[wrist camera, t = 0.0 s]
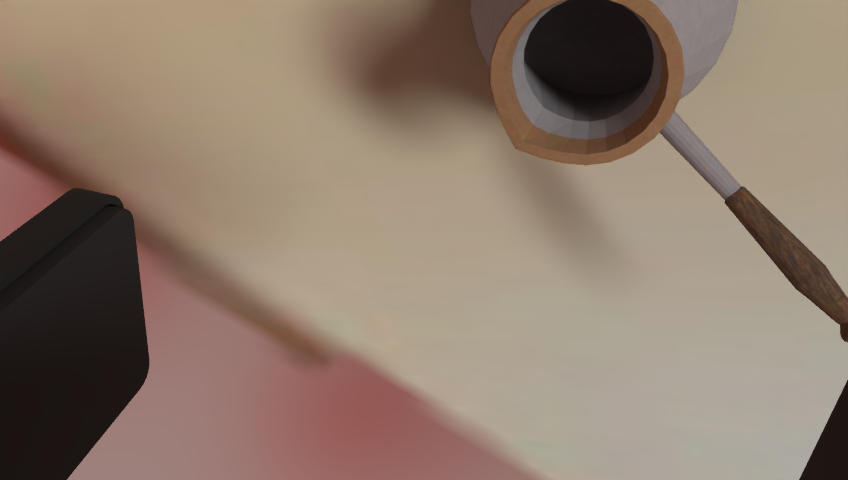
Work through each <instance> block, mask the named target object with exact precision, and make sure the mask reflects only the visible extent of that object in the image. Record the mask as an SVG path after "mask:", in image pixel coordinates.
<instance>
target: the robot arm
mask: <svg viewBox="0 0 848 480" xmlns="http://www.w3.org/2000/svg"><path fill="white" fill-rule="evenodd" d="M148 369H149V353H148V345H147V336H146V327H145V318H144V309H143V300H142V291H141V282H140V273H139V264H138V255H137V246H136V237H135V229H134V220H133V216H132V214H131V212H130V211H129V210H127V209H124V207H123V204H122V202H121V200H120V199H119V198H117V197H116V196H113V195H108V194H103V193H99V192H94V191H89V190H84V189H79V188H74V189H72V190H70V191H68V192H66V193H65V194H64V195H62V196H61V197H60V198H58V199H57V200H56V201H54V202H53V203H52V204H50V205H49V206H48V207H46V208H45V209H44V210H42V211H41V212H40V213H38V214H37V215H35V216H34V217H33V218H32V219H30V220H29V221H27V222H26V223H25V224H23V225H22V226H21V227H20V228H18V229H17V230H15V231H14V232H13V233H11V234H10V235H9V236H7V237H6V238H5V239H3V240H2V241H1V242H0V480H67V479H68V477H69V476H70V475H71V474H72V472H73V471H74V470H75V469H76V467H77V466H78V465H79V464H80V463H81V461H82V460H83V459H84V458H85V456H86V455H87V454H88V453H89V451H90V450H91V449H92V448H93V446H94V445H95V444H96V442H97V441H98V440H99V439H100V438H101V437H102V435H103V434H104V433H105V432H106V430H107V429H108V428H109V427H110V425H111V424H112V423H113V422H114V420H115V419H116V418H117V417H118V416H119V414H120V413H121V412H122V411H123V409H124V408H125V407H126V406H127V404H128V403H129V402H130V401H131V399H132V398H133V397H134V396H135V395H136V393H137V392H138V391H139V390H140V388H141V387H142V385H143V384H144V382H145V379H146V377H147V374H148ZM799 480H848V380H847V383H846V385H845V387H844V389H843V391H842V393H841V395H840V397H839V399H838V401H837V403H836V405H835V407H834V409H833V411H832V413H831V415H830V418H829V420H828V422H827V424H826V426H825V428H824V430H823V432H822V434H821V436H820V438H819V440H818V442H817V444H816V446H815V448H814V450H813V453H812V455H811V457H810V459H809V461H808V463H807V465H806V467H805V469H804V471H803V473H802V475H801V477H800V479H799Z"/></svg>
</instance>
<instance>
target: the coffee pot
mask: <svg viewBox="0 0 848 480" xmlns="http://www.w3.org/2000/svg"><path fill="white" fill-rule="evenodd" d="M737 4H738V0H471V7H470V14H471V19H472V23H473V28H474V32H475V36H476V41H477V45H478V47H479V49H480V51H481V53H482V55H483V57H484V59H485V61H486V63H487V65H488V67H489V69H490V81H489V82H490V86H491V91H492V95H493V99H494V104H495V107H496V109H497V112H498V114H499V116H500V119H501V121H502V124H503V126H504V128H505V130H506V132H507V134H508V136H509V137H510V139H511V141H512V143H513V145H514V147H515V148H516V149H518V150H521V151H523V152H526V153H529V154H532V155H534V156H537V157H540V158H544V159H549V160H553V161H557V162H561V163H568V164H578V165H592V164H600V163H607V162H612V161H614V160H617V159H619V158H622V157H625V156H627V155H630V154H632V153H634V152H635V151H637V150H638V149H640V148H641V147H642V146H644V145H645V144H647V143H648V142H650V141H651V140H652V139H654V138H655V137H656V135H657V134H658V133H659V132H660V133H661V134H662V135H663V136H664V138H665V139H666V140H667V141H668V142H669V143H670V144H671V145H672V146H673V147H674V148H675V149H676V150H677V151H678V152H679V153H680V154H681V155H682V156H683V157H684V158H685V159H686V160H687V161H688V162H689V163H690V164H691V165H692V166H693V168H694V169H695V170H696V171H697V172H698V173H699V174H700V175H701V176H702V177H703V178H704V179H705V180H706V181H707V182H708V183H709V184H710V185H711V186H712V187H713V188H714V189H715V190H716V191H717V192H718V193H719V194H720V195H721V197H722V198H723V199H724V200H725V204H726V205H727V206H728V207H729V209H730V210H731V211H732V212H733V213H734V215H735V216H736V217H737V218H738V219H739V221H740V222H741V223H742V224H743V226H744V227H745V228H746V229H747V230H748V232H749V233H750V234H751V235H752V236H753V238H754V239H755V240H756V241H757V242H758V244H759V245H760V246H761V247H762V249H763V250H764V251H765V252H766V253H767V255H768V256H769V257H770V258H771V259H772V261H773V262H774V263H775V264H776V265H777V267H778V268H779V269H780V270H781V272H782V273H783V274H784V275H785V276H786V278H787V279H788V280H789V281H790V282H791V284H792V285H793V286H794V287H795V288H796V289H797V290H798V291H799V292H801V293H802V294H803V295H804V296H806V297H807V298H808V299H809V300H811V301H812V302H813V303H814V304H815V305H816V306H818V307H819V308H820V309H821V310H822V311H824V312H825V313H826V314H827V315H828V316H829V317H831V318H832V319H833V320H834V321H835V322H837V323H838V324H840V334H841V337H842V339H843V340H844V341H846V342H848V298H847V296H846V295H845V294H844V292H843V291H842V289H841V288H840V286H839V285H838V284H837V282H836V281H835V279H834V278H833V277H832V275H831V273H830V272H829V270H828V269H827V267H826V266H825V265H824V264H823V263H822V262H821V261H820V260H819V259H818V258H817V257H816V256H815V255H814V254H813V253H812V252H811V251H810V250H809V249H808V248H807V247H806V246H805V245H804V244H803V243H802V242H801V241H800V240H799V239H798V238H796V237H795V236H794V235H793V234H792V233H791V232H790V231H789V230H788V229H787V228H786V227H785V226H784V225H783V224H782V223H781V222H780V221H779V220H778V219H777V218H776V217H775V216H774V215H773V214H772V213H771V212H770V211H769V210H768V209H767V208H766V207H765V206H764V205H763V204H761V203H760V202H759V201H758V200H757V199H756V198H755V197H754V196H753V195H752V194H751V193H750V192H749V191H748V190H747V189H746V188H745V187H741V186H740V184H739V183H738V182H737V181H736V180H735V179H734V178H733V177H732V175H731V174H730V173H729V172H728V171H727V170H726V169H725V167H724V166H723V165H722V164H721V163H720V162H719V161H718V159H717V158H716V157H715V156H714V155H713V154H712V153H711V152H710V150H709V149H708V148H707V147H706V146H705V145H704V144H703V142H702V141H701V140H700V139H699V138H698V137H697V136H696V135H695V133H694V132H693V131H692V130H691V129H690V128H689V127H688V125H687V124H686V123H685V122H684V121H683V120H682V119H681V117H680V116H679V115H678V114H677V113H676V112H675V111H674V110H675V108H676V106H677V104H678V102H679V100H680V99H681V98H683V97H684V96H686V95H687V94H688V93H690V92H691V91H693V90H694V88H695V87H696V86H697V85H698V84H699V83H700V81H701V80H702V79H703V78H704V77H705V76H706V74H707V73H708V72H709V71H710V70H711V69H712V67H713V66H714V65H715V64H716V62H717V60H718V58H719V56H720V54H721V52H722V50H723V48H724V46H725V44H726V42H727V40H728V38H729V36H730V34H731V31H732V29H733V24H734V19H735V14H736V9H737Z"/></svg>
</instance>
